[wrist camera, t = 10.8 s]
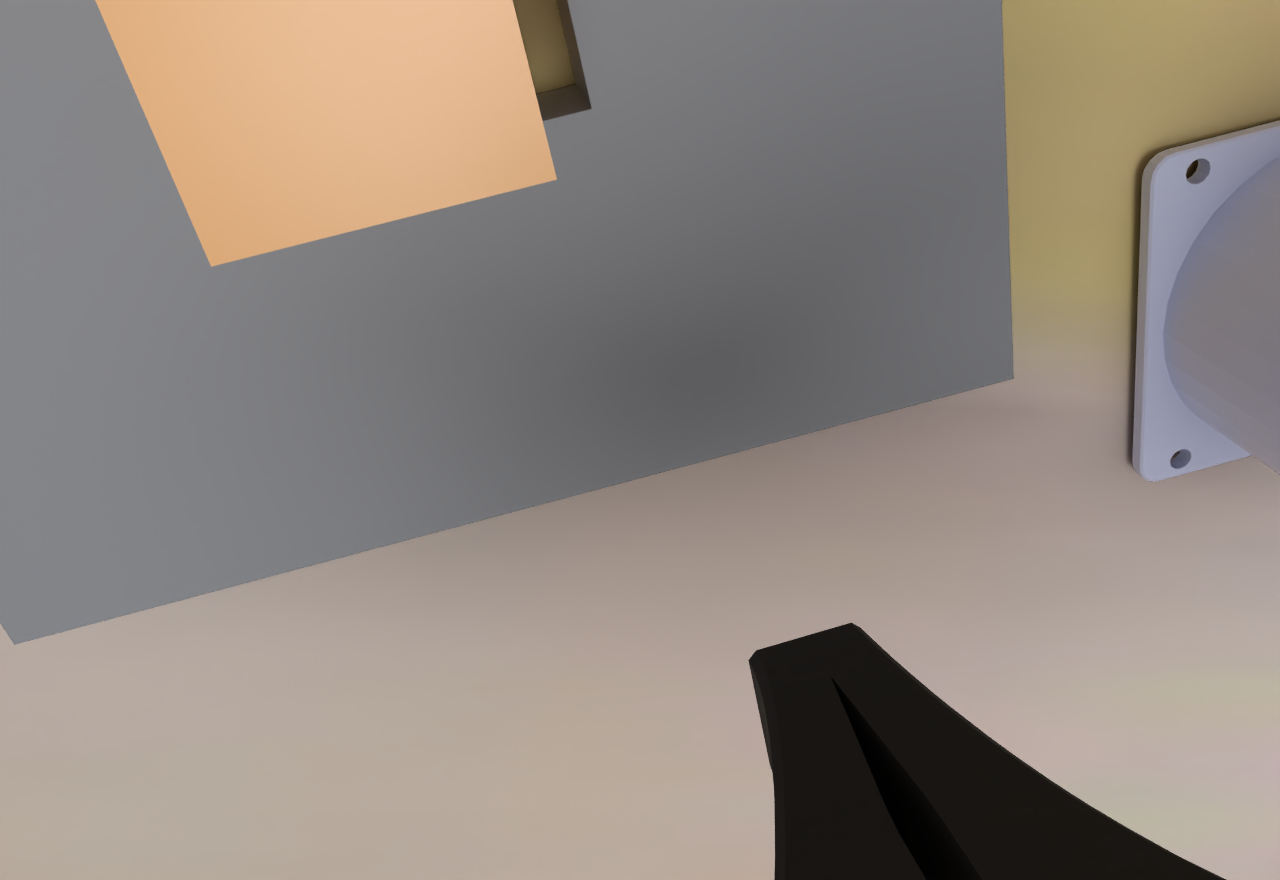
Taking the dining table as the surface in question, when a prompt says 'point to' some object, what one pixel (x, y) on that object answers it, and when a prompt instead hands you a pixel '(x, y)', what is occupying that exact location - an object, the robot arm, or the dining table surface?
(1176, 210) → the robot arm
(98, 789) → the dining table surface
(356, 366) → the socket plate
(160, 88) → the plug
